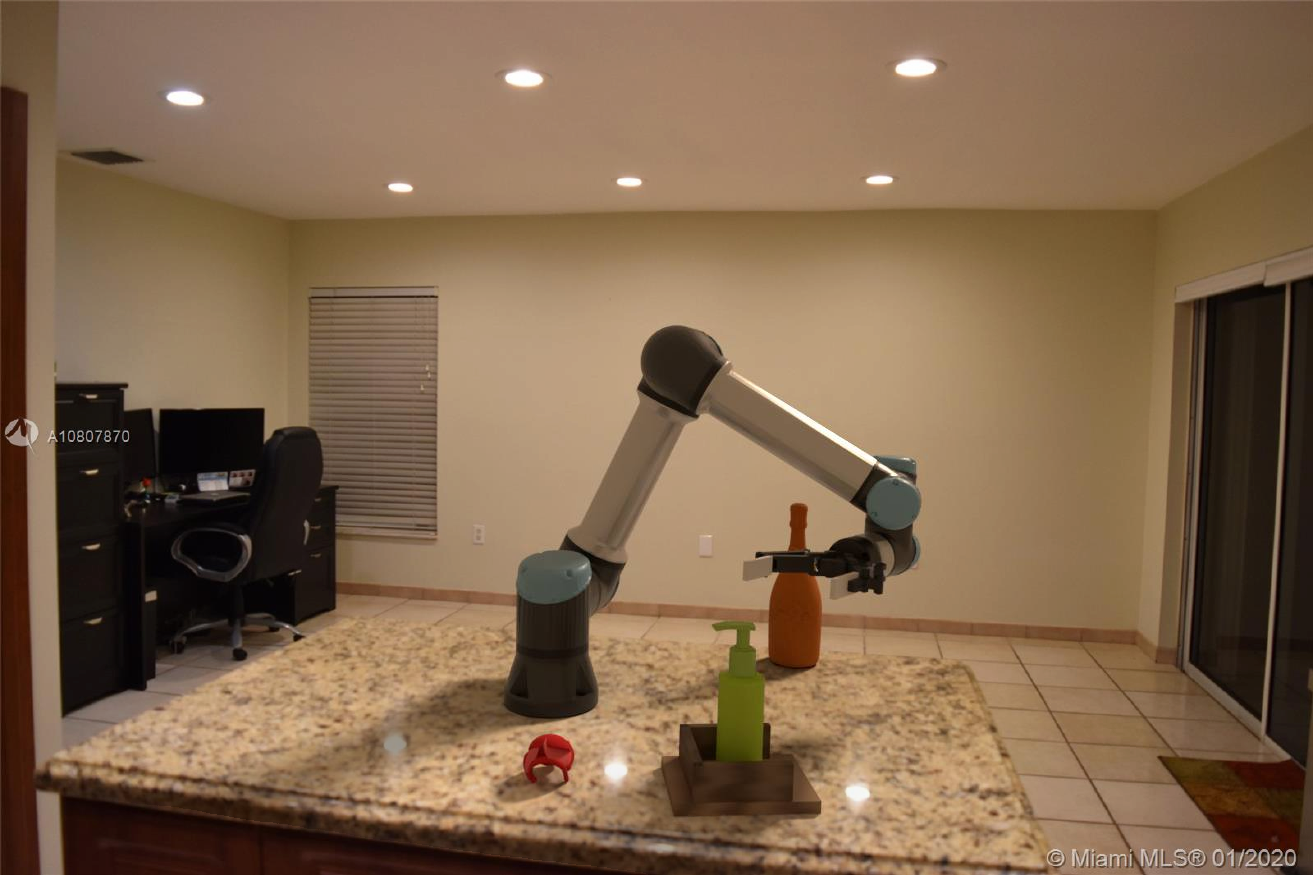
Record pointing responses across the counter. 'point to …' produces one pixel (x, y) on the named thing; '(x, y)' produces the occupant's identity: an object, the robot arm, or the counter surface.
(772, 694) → the counter surface
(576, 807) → the counter surface
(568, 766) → the cap
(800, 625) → the wine bottle
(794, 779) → the u rest
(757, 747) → the soap dispenser
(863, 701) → the counter surface
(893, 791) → the counter surface
